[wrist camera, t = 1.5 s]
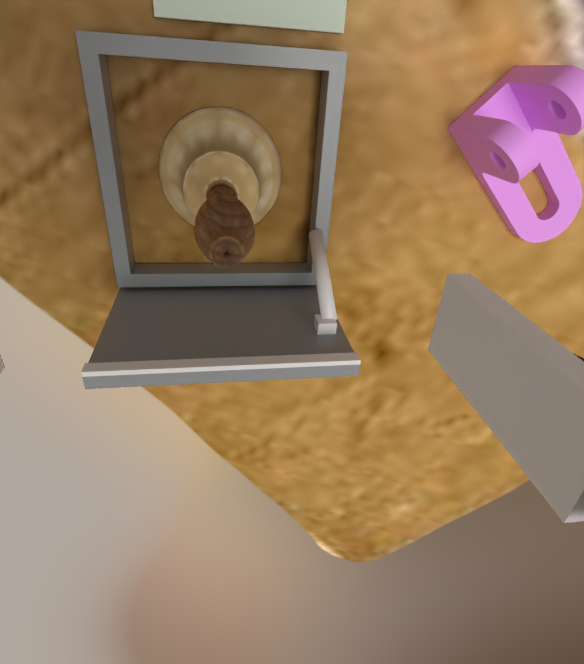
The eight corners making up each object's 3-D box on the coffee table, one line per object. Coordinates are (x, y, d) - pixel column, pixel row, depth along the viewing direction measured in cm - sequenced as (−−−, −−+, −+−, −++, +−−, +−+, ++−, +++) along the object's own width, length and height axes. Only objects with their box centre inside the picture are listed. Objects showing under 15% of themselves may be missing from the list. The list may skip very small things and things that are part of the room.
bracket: (446, 127, 30) (501, 141, 24) (513, 65, 29) (590, 64, 23) (520, 250, 36) (579, 284, 31) (579, 204, 35) (652, 231, 29)
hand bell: (132, 147, 28) (55, 218, 14) (243, 80, 27) (274, 90, 13) (202, 252, 32) (194, 383, 19) (300, 198, 31) (366, 295, 18)
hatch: (84, 32, 24) (-8, 5, 14) (339, 53, 27) (415, 42, 17) (124, 290, 33) (85, 389, 22) (316, 287, 35) (358, 375, 25)
